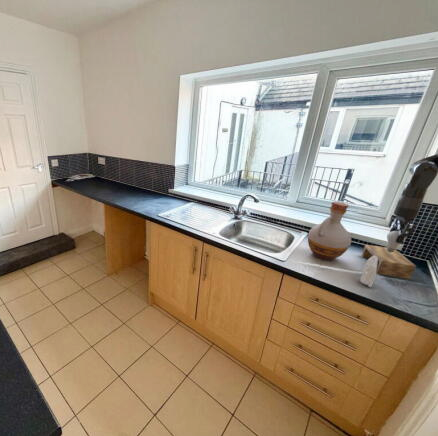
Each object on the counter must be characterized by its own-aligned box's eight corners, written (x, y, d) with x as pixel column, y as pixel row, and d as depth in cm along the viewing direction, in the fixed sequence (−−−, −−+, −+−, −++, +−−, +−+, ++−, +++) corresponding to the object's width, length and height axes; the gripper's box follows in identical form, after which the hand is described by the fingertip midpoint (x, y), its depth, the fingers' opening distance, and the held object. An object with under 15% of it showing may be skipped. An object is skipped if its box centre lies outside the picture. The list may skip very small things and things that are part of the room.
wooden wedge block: (389, 260, 126) (394, 248, 123) (409, 279, 110) (416, 265, 107) (361, 256, 130) (365, 244, 127) (376, 273, 114) (382, 260, 111)
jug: (327, 270, 117) (347, 212, 105) (293, 252, 132) (307, 200, 120) (351, 261, 124) (372, 206, 113) (316, 245, 139) (332, 195, 128)
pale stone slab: (360, 271, 114) (369, 251, 110) (372, 274, 112) (381, 254, 108) (359, 283, 106) (368, 262, 102) (372, 287, 104) (381, 265, 99)
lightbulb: (402, 255, 114) (411, 234, 110) (389, 255, 114) (398, 234, 110) (390, 249, 120) (398, 228, 116) (377, 249, 120) (385, 228, 116)
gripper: (430, 211, 101) (414, 247, 107) (409, 202, 114) (396, 235, 120) (406, 209, 104) (392, 244, 109) (389, 201, 116) (377, 233, 122)
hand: (394, 239), depth 115 cm, fingers closed on lightbulb, 6 cm apart
